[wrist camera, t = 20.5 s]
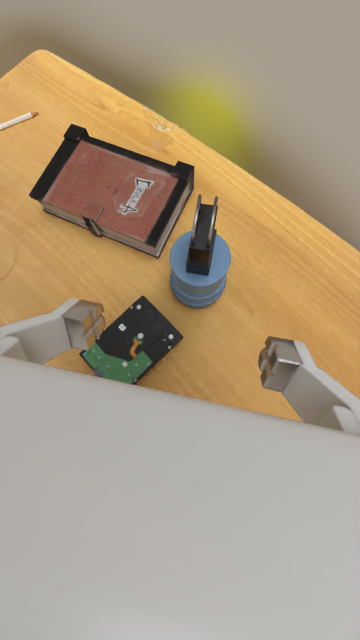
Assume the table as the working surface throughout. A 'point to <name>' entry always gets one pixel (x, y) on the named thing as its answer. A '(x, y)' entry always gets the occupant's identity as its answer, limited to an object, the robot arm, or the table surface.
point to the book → (114, 191)
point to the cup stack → (195, 286)
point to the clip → (202, 238)
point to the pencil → (17, 120)
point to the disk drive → (132, 344)
